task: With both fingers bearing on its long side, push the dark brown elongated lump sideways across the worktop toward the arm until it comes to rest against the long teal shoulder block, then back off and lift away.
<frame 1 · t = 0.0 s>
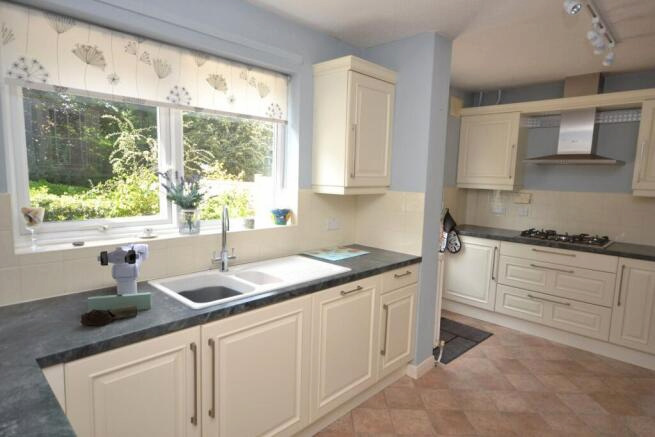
hand: (114, 260, 140), 22 cm above the worktop, tool horizontal, fingers open, 7 cm apart
dark brown elongated lump: (110, 322, 138), on the worktop
shoulder block: (121, 310, 149), on the worktop
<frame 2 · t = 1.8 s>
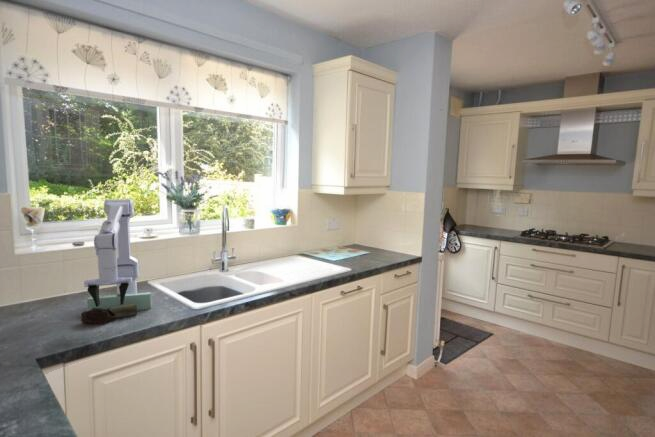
hand: (110, 304, 133), 8 cm above the worktop, tool pointing down, fingers open, 7 cm apart
dark brown elongated lump: (110, 320, 139), on the worktop
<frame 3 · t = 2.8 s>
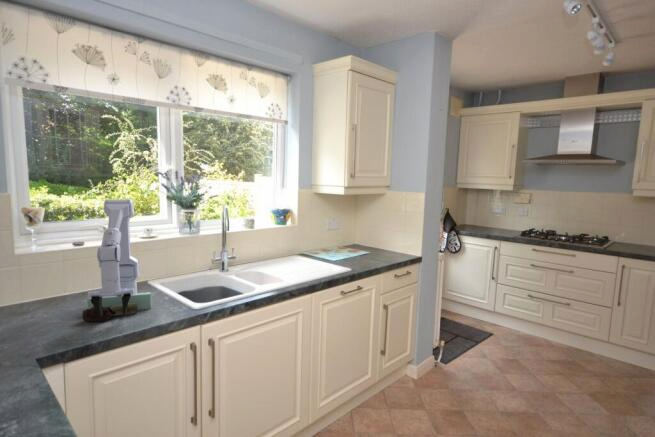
hand: (112, 315, 136), 3 cm above the worktop, tool pointing down, fingers open, 7 cm apart
dark brown elongated lump: (110, 318, 141), on the worktop, touching gripper
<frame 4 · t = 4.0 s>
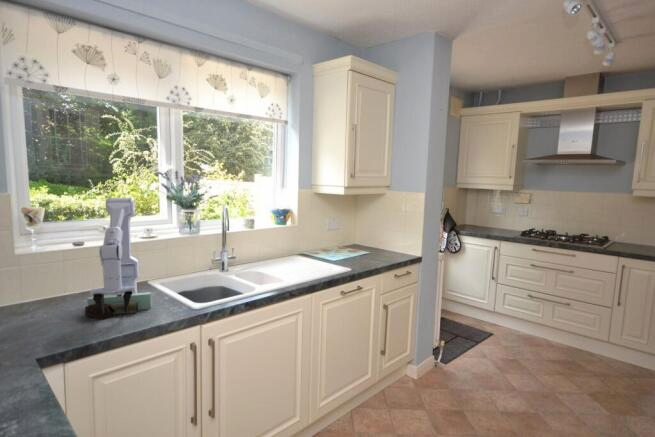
hand: (114, 312, 139), 3 cm above the worktop, tool pointing down, fingers open, 7 cm apart
dark brown elongated lump: (111, 316, 143), on the worktop
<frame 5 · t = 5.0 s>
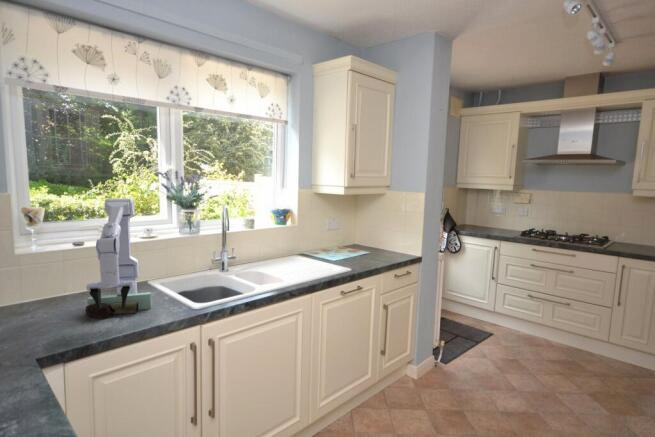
hand: (111, 307, 135), 6 cm above the worktop, tool pointing down, fingers open, 7 cm apart
nothing on the worktop moved.
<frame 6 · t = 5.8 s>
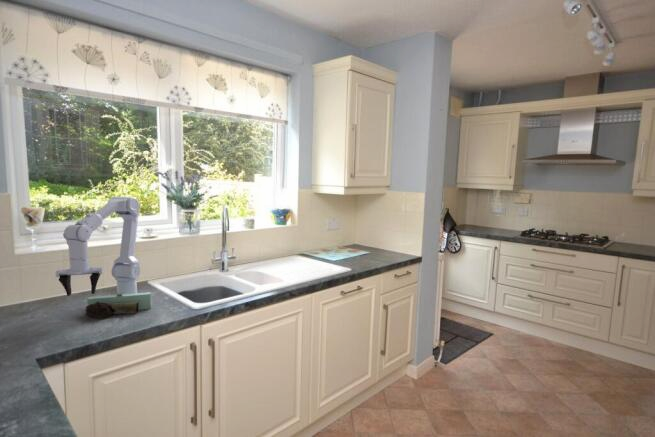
hand: (81, 294, 137), 10 cm above the worktop, tool pointing down, fingers open, 7 cm apart
nothing on the worktop moved.
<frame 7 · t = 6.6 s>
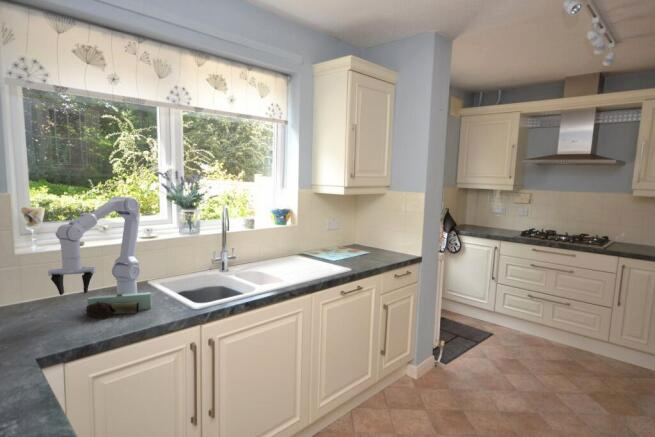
hand: (73, 293, 138), 10 cm above the worktop, tool pointing down, fingers open, 7 cm apart
nothing on the worktop moved.
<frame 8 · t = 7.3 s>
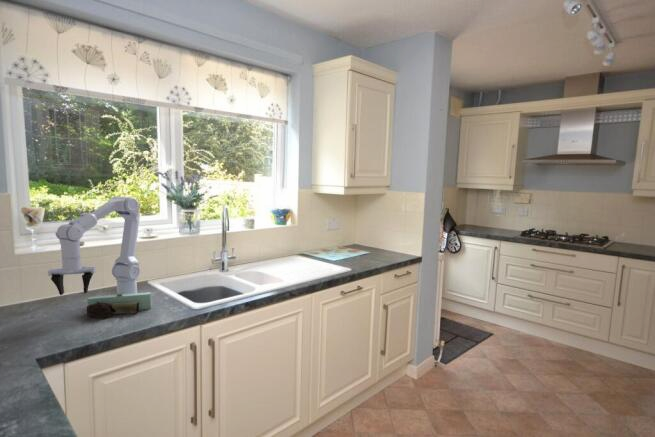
hand: (73, 293, 138), 10 cm above the worktop, tool pointing down, fingers open, 7 cm apart
nothing on the worktop moved.
at the end: dark brown elongated lump inside the target area (2.0 cm from its centre), on the worktop; dark brown elongated lump moved 6.1 cm from its start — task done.
